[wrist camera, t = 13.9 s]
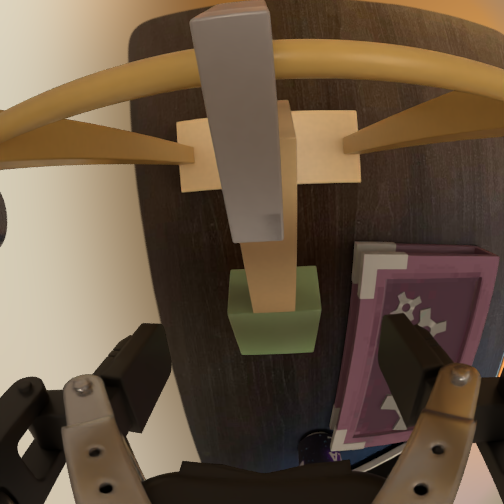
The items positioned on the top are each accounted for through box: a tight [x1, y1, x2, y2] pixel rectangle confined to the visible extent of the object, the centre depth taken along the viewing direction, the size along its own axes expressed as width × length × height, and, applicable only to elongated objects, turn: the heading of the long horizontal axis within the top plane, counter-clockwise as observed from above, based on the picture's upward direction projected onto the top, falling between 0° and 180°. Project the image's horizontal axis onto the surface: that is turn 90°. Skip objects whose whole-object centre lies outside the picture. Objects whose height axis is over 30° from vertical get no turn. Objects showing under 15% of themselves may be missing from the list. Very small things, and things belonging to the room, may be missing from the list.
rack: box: [0, 39, 504, 193], centre depth 17 cm, size 7×17×25 cm, turn 94°
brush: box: [190, 0, 321, 355], centre depth 13 cm, size 20×5×7 cm
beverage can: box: [298, 432, 341, 466], centre depth 32 cm, size 6×6×12 cm
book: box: [329, 241, 500, 451], centre depth 31 cm, size 25×16×5 cm, turn 0°
